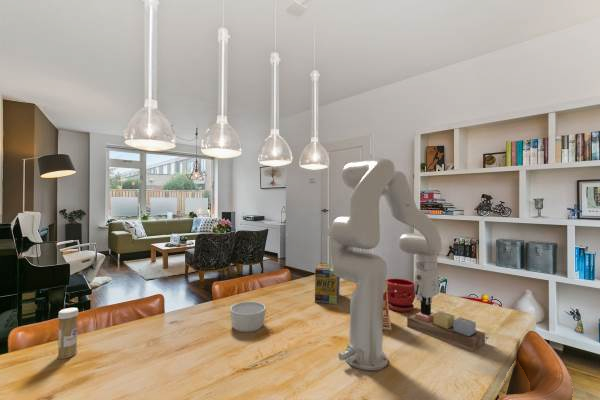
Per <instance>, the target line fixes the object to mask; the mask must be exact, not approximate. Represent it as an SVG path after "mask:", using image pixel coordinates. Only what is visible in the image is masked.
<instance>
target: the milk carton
mask: <svg viewBox="0 0 600 400" xmlns="http://www.w3.org/2000/svg"><path fill="white" fill-rule="evenodd" d="M386 280H387V279H386ZM386 280H385V285H384V291H383V330H389V331H392V329H393V328H392V324H391V318H390V317H391V316H390V311H389V310H390V308H389V307H388V294H387V281H386Z"/></svg>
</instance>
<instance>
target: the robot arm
mask: <svg viewBox="0 0 600 400" xmlns="http://www.w3.org/2000/svg"><path fill="white" fill-rule="evenodd" d="M341 179H342V181H343V183H344V184H345V185H346V186H347V188H350V189H352V190H353V191H352V192H351V196H350V198H349V215H340V216H338V217H336V218H335V219H334V220H333V222H332V223H331V226H330V229H329V245H330V246H329V249H330V261H331V263H330V264H331V265H332V269H333V272H334V274H335V275H336V276H337V277H339V278H340V279H342V280H345V281H349V282H353V283H355V284H356V287H355V288H354V290H352V291H353V292H352V293H351V296H350V299H349V302H350V303H349V306H350V307H349V308H350V309H349V310H350V311H349V343H348V344H347V348H346V349H345V350H344V351H342V352H339V353H338V354H337V355H338V359H339V361H346V362H347V363H348V364H349V365H351V366H352V367H354V368H356V369H358V370H359V369H360V370H363V371H379V370H382V369H383V368H385V367H386V366H387V365H388V356H387V354H386V353H385V352H384V351H383V330H384V329H383V291H384V285H385V280H387V274H388V266H387V263H386V261H385V260H384V258H382V257H381V256H379V255H377V254H376V253H375V254H374V253H371V252H365V251H360V250H361V249H364V250H372V249H375V248H377V246H379V243H380V239H381V227H380V226H381V225H380V199H381V197H384V198H385V201H386V202H387V206H388V209H389V211H390V213H391V216H392V218H394V219H395V220H397V221H398V222H400V223H402V224H403V225H406V226H409V227H411V228H413V229H415V230H416V231H418V232H417V233H414V232H405V233H404V234H402V235H401V236H400V237H399V239H398V247H399V249H400V250H401V251H403V252H404V253H406V254H411V255H412V254H413V255H415V274H414V282H415V283H414V292H415V296H416V300H417V301H419V303H420V312H421V313H422V314H425V315H430V314H432V301H433V298H434V296H438V294H439V293H440V285H439V284H440V283H439V282H440V281H439V273H438V255H440V253H441V252H442V250H443V249H442V247H443V245H442V244H443V242H442V237H441V234H440V232H439V229H438V226H437V225H436V223H435V222H434V221H433V220H432V218H430V217H429V216H428V215H427V214H426V213H425V212H423V211H422V210H420V209H419V208H418V207H417V205H416V201H415V199H414V196H413V193H412V190H411V187H410V183H409V181H408V179H407V176H406V175H405V173H404V172H403V171H400V170H395V164H394V162H393V161H392V160H390V159H387V158H372V159H366V160H358V161H352V162H351V161H350V162H349V163H347V164H346V165H344V167H343V169H342V172H341ZM354 248H355V249H360V250H359V251H358V250H354Z"/></svg>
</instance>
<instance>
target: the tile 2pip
mask: <svg viewBox="0 0 600 400" xmlns="http://www.w3.org/2000/svg"><path fill="white" fill-rule="evenodd" d="M433 314H434V320H433V324H435V325H438V326H441V327H444V328H447V329H448V328H450V327H452V326H453V321H454V320H455V315H454V314H451V313H447V312H445V311H442V310H440V311H437V312H435V313H433Z"/></svg>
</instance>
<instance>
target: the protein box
mask: <svg viewBox="0 0 600 400" xmlns="http://www.w3.org/2000/svg"><path fill="white" fill-rule="evenodd" d="M340 279H341V278H339V277H337V276H336V275H335V274H334V272H333V269H332V265H331V263H327V262H319V264H318V265H317V267H316V268H315V271H314V303H317V302H319V303H320V304H330V305H337V304H338V300H339V297H340ZM319 303H318V304H319Z"/></svg>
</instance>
